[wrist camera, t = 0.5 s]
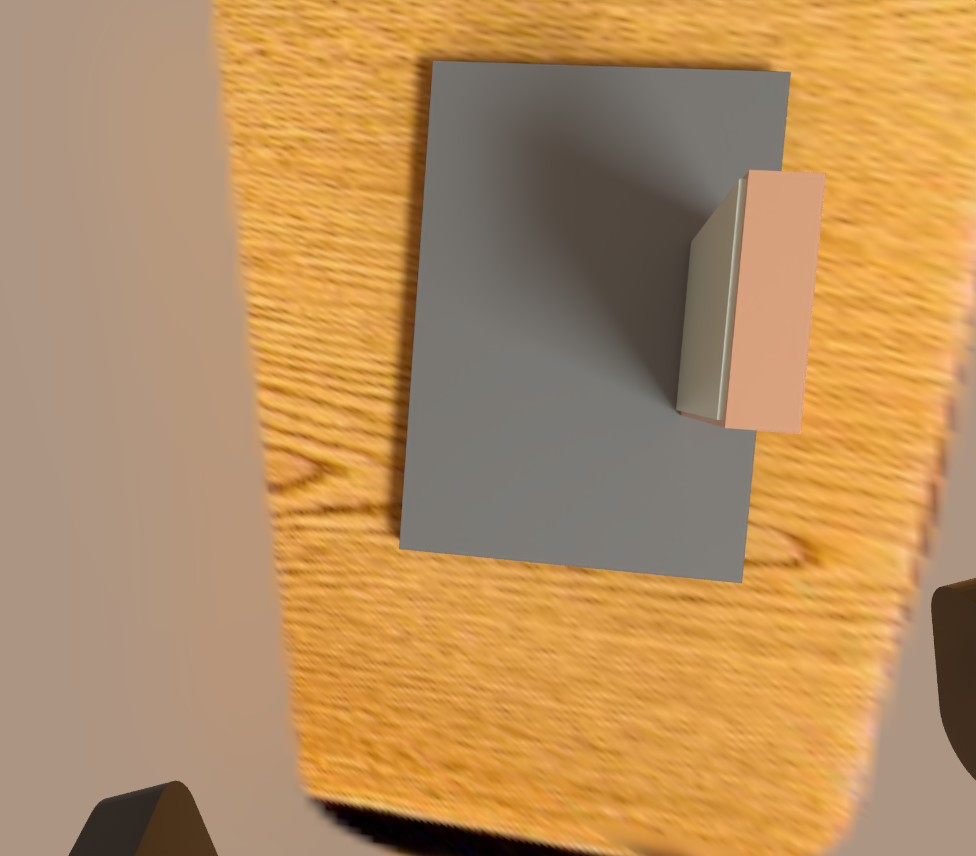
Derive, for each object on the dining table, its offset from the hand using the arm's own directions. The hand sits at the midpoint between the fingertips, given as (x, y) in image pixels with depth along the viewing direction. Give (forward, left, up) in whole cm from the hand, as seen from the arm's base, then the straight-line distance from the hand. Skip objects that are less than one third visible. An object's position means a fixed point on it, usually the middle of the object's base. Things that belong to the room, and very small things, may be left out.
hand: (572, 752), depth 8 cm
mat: (-6, 0, -25) cm, 26 cm away
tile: (-6, +5, -24) cm, 26 cm away
